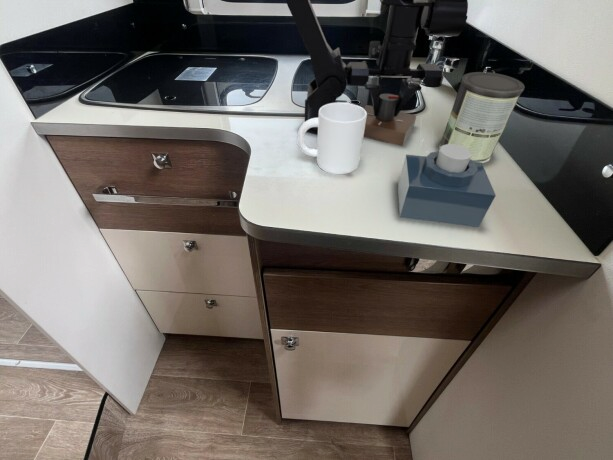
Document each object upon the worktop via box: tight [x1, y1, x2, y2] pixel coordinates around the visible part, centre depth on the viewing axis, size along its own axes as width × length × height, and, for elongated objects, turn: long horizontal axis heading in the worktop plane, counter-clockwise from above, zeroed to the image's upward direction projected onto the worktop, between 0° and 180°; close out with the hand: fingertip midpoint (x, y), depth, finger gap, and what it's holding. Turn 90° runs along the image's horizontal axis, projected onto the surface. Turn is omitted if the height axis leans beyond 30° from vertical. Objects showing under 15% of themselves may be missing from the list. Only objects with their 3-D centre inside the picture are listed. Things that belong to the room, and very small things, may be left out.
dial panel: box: [362, 104, 417, 147], centre depth 71 cm, size 12×10×3 cm
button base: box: [397, 150, 496, 228], centre depth 50 cm, size 12×9×8 cm
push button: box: [436, 144, 472, 173], centre depth 47 cm, size 4×4×2 cm
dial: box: [376, 93, 399, 121], centre depth 68 cm, size 4×4×5 cm
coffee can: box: [438, 71, 526, 165], centre depth 61 cm, size 10×10×14 cm
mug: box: [296, 102, 367, 175], centre depth 58 cm, size 12×8×10 cm
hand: (385, 115), depth 70 cm, fingers closed on dial, 4 cm apart
